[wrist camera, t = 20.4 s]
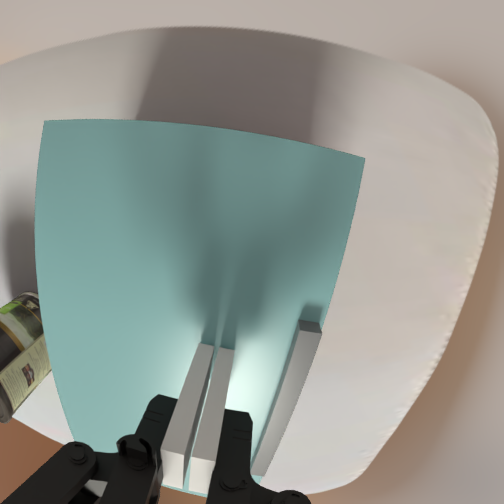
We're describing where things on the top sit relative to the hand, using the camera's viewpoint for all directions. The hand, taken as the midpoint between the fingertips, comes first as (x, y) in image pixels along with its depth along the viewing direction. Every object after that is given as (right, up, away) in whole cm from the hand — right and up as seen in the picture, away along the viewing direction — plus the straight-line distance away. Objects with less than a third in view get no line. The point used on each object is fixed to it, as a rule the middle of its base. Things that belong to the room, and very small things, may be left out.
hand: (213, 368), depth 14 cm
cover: (-4, -1, +2) cm, 4 cm away
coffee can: (-26, -4, +17) cm, 31 cm away
